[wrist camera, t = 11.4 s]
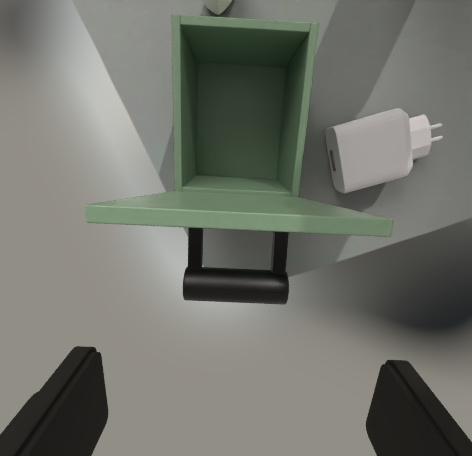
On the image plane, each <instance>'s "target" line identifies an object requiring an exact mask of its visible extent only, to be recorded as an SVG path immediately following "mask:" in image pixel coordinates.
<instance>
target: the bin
mask: <svg viewBox="0 0 472 456" xmlns="http://www.w3.org/2000/svg"><path fill="white" fill-rule="evenodd" d="M171 17H172V73H173V129H174V184H175V191H182V192H202V193H223V194H243V195H264V196H284V197H298V195H299V187H300V178H301V170H302V162H303V153H304V145H305V136H306V128H307V120H308V111H309V103H310V94H311V86H312V78H313V69H314V61H315V52H316V44H317V36H318V27H319V23H310V22H294V21H277V20H260V19H243V18H226V17H209V16H192V15H177V14H172V15H171Z"/></svg>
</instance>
